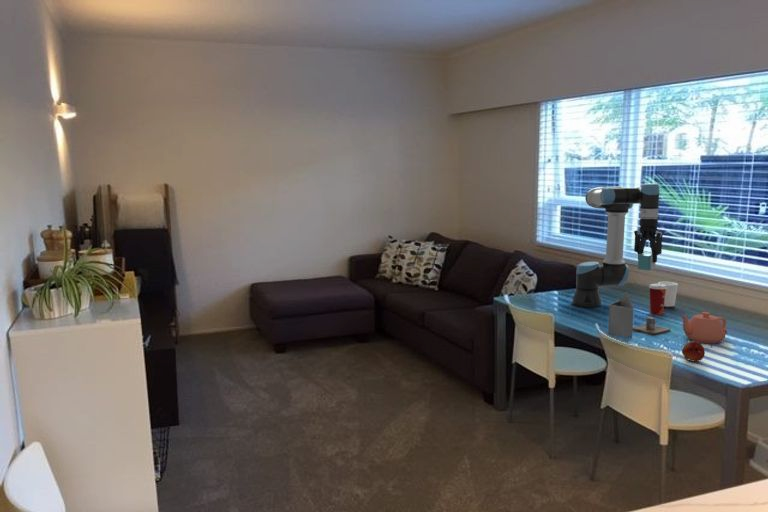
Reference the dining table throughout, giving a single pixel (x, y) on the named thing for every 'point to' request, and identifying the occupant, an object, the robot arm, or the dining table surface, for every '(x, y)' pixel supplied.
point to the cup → (670, 293)
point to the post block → (650, 328)
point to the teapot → (705, 328)
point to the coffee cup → (657, 298)
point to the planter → (621, 317)
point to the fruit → (693, 351)
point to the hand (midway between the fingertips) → (646, 268)
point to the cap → (644, 261)
